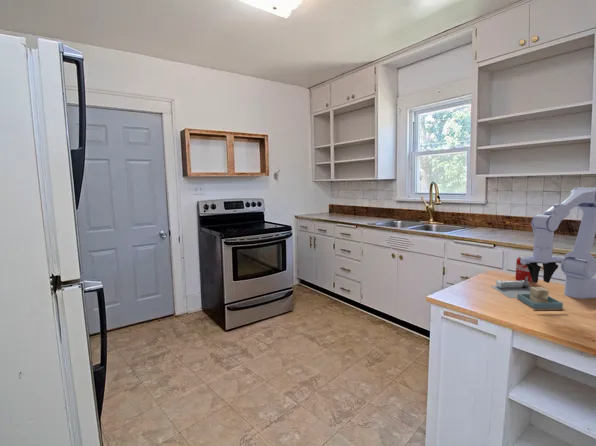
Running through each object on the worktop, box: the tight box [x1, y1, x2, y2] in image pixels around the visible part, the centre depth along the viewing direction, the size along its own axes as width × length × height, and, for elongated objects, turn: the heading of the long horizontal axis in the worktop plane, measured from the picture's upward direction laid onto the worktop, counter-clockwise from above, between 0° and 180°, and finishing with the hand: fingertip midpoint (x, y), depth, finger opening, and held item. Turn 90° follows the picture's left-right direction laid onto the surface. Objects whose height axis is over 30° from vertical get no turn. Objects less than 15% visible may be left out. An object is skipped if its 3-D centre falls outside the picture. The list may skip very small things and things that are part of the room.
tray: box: [516, 294, 564, 312], centre depth 124 cm, size 10×10×3 cm
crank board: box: [490, 285, 531, 299], centre depth 137 cm, size 16×14×1 cm
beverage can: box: [515, 255, 532, 283], centre depth 151 cm, size 6×6×12 cm
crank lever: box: [495, 280, 530, 288], centre depth 142 cm, size 12×4×3 cm, turn 87°
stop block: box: [529, 286, 549, 303], centre depth 124 cm, size 4×4×6 cm
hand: (540, 282), depth 123 cm, fingers open, 4 cm apart
